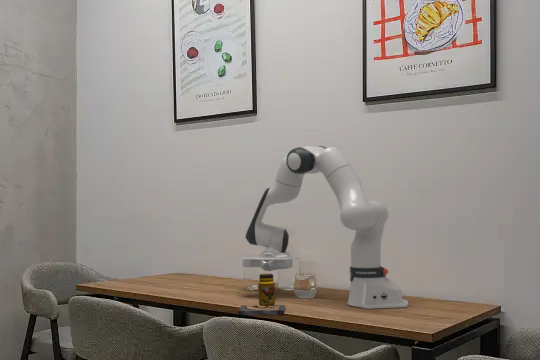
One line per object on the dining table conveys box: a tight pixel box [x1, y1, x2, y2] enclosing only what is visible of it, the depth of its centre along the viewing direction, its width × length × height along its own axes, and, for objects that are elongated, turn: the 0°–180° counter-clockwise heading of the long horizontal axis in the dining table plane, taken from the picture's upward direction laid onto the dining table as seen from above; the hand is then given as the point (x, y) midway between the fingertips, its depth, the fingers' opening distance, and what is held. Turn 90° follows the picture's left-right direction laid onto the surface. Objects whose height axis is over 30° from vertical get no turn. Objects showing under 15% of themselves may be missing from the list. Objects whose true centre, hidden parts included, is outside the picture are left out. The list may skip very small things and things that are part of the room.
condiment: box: [258, 273, 276, 307], centre depth 234 cm, size 7×8×12 cm
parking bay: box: [237, 304, 286, 316], centre depth 222 cm, size 16×10×2 cm, turn 85°
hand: (266, 264), depth 245 cm, fingers closed
